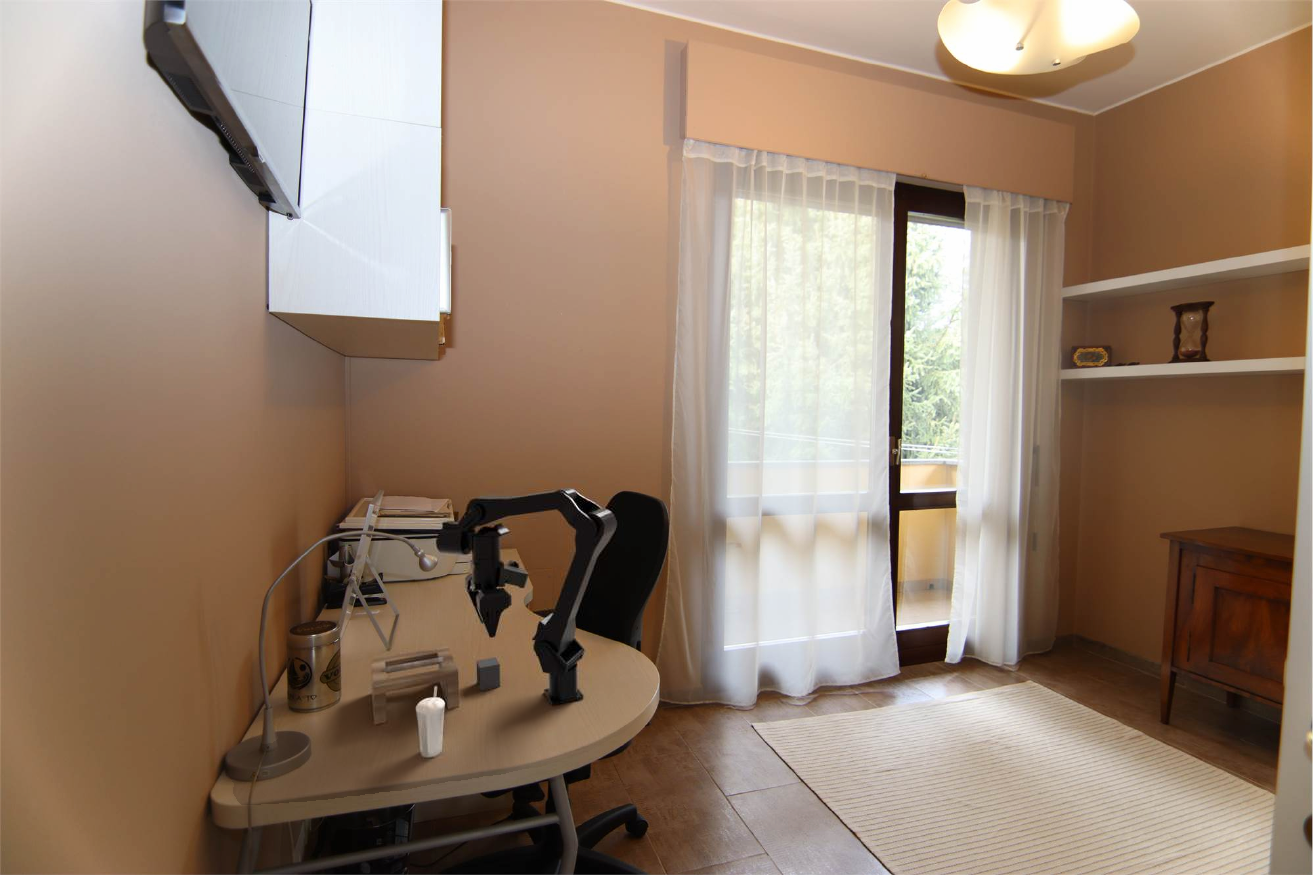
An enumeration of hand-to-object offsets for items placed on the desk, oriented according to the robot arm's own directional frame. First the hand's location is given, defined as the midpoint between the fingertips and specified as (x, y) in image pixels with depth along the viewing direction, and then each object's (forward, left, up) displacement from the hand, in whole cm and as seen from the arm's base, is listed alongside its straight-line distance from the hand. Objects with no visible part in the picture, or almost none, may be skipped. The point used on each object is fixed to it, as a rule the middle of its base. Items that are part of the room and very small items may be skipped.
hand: (487, 629), depth 128 cm
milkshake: (-21, +14, -12) cm, 28 cm away
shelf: (0, +15, -12) cm, 19 cm away
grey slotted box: (0, 0, -12) cm, 12 cm away
